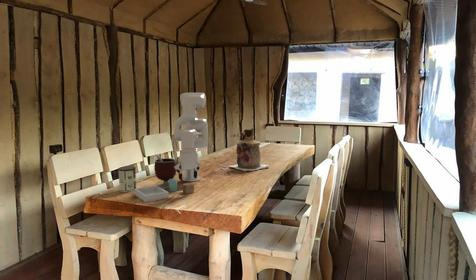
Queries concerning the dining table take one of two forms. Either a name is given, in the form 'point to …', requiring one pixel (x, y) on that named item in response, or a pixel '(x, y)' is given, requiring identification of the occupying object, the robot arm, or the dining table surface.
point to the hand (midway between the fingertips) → (188, 178)
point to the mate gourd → (164, 170)
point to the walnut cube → (188, 188)
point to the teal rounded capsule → (173, 184)
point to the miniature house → (127, 178)
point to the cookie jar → (248, 153)
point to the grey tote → (151, 193)
